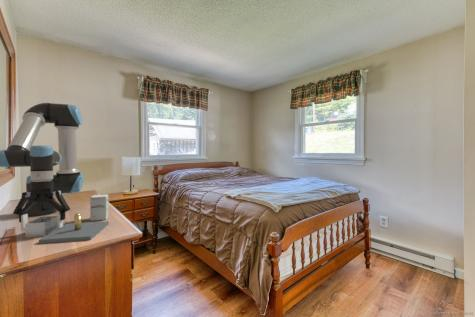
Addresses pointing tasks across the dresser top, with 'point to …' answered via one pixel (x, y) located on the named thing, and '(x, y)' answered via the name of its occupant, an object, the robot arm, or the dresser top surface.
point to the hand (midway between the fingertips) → (42, 228)
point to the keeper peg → (77, 221)
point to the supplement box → (98, 207)
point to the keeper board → (74, 232)
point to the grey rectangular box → (41, 226)
